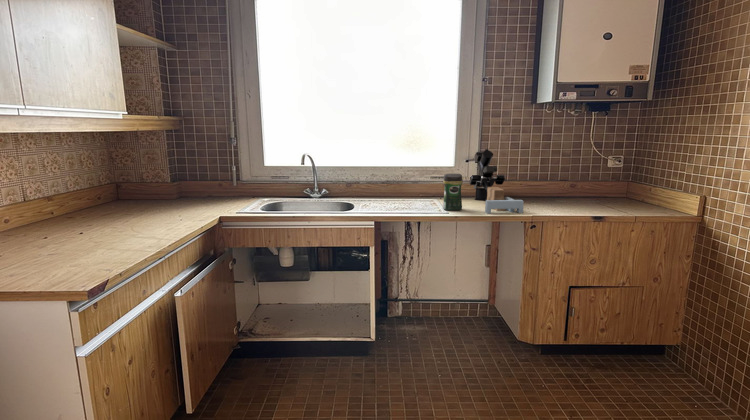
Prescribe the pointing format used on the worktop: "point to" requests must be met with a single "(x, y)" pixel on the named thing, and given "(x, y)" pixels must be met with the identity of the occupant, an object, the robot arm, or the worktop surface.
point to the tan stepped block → (495, 195)
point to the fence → (504, 205)
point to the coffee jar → (452, 192)
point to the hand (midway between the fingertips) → (489, 192)
